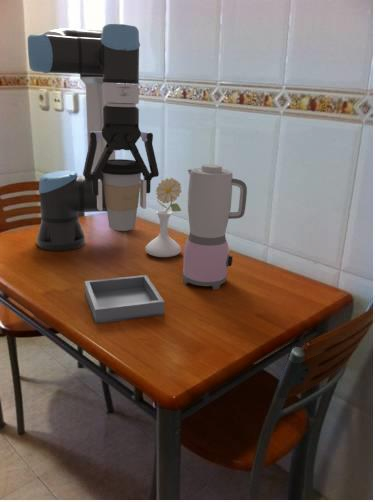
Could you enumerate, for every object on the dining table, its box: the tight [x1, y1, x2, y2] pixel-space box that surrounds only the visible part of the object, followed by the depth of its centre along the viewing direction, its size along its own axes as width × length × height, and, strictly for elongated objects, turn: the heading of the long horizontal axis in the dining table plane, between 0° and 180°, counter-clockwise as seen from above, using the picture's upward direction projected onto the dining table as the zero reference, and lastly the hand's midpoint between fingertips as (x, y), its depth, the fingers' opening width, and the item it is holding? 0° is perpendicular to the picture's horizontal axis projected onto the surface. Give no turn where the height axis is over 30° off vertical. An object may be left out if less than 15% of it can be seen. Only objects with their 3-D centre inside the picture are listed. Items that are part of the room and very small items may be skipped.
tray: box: [84, 274, 165, 324], centre depth 112 cm, size 16×16×4 cm
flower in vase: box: [144, 177, 182, 258], centre depth 141 cm, size 13×11×25 cm
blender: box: [182, 163, 248, 290], centre depth 122 cm, size 16×12×32 cm
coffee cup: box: [102, 158, 143, 232], centre depth 104 cm, size 9×9×15 cm
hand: (121, 208), depth 105 cm, fingers closed on coffee cup, 9 cm apart
